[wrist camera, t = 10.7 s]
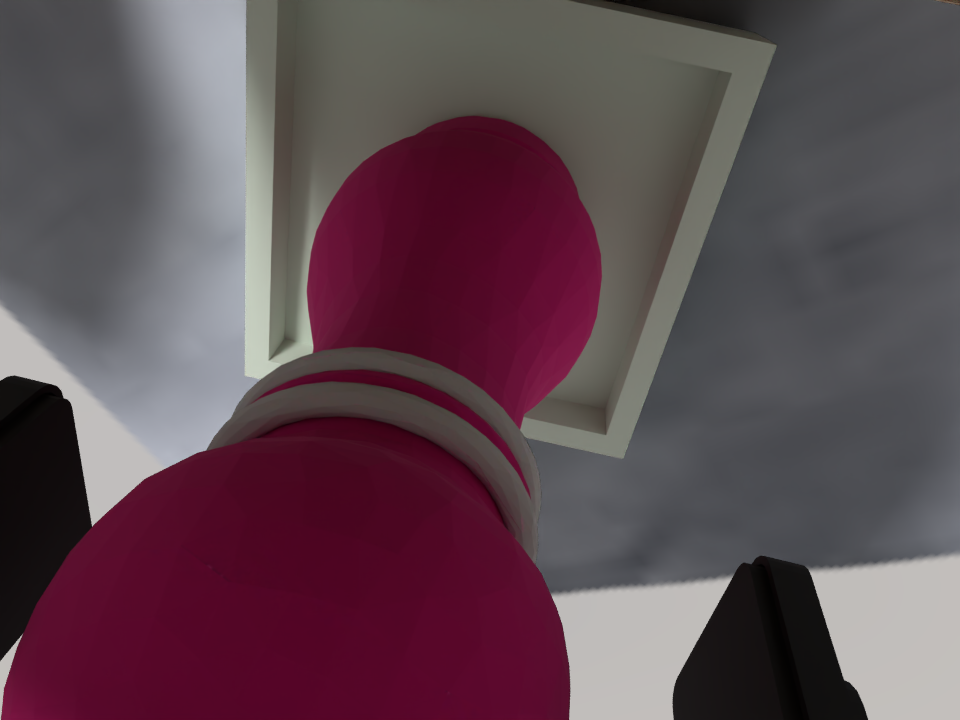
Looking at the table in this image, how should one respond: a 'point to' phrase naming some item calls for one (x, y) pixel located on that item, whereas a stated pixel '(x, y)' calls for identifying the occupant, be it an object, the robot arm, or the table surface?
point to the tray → (523, 101)
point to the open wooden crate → (950, 1)
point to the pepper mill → (356, 478)
